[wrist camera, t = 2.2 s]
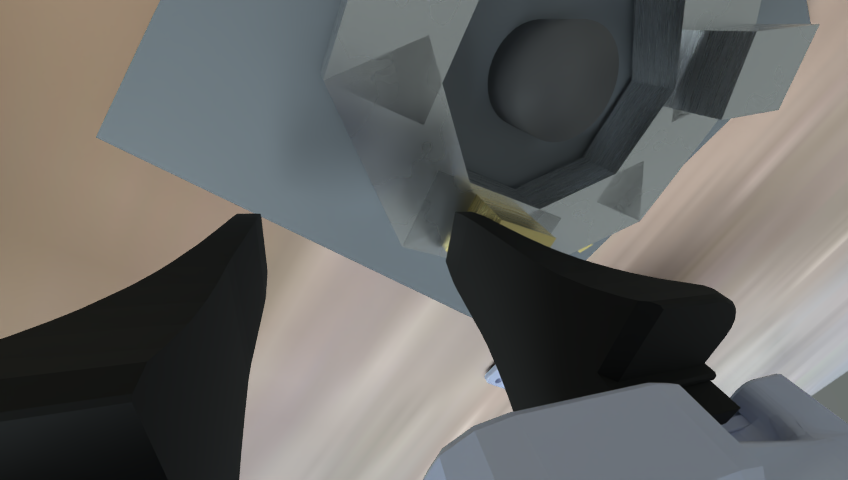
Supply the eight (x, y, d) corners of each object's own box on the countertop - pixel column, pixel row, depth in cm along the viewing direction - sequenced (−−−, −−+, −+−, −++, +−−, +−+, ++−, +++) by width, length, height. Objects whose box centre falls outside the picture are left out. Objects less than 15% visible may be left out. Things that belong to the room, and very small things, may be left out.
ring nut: (769, -26, 13) (919, -41, 10) (559, 268, 18) (612, 320, 15) (475, -441, 7) (626, -849, 4) (284, 189, 12) (277, 250, 9)
